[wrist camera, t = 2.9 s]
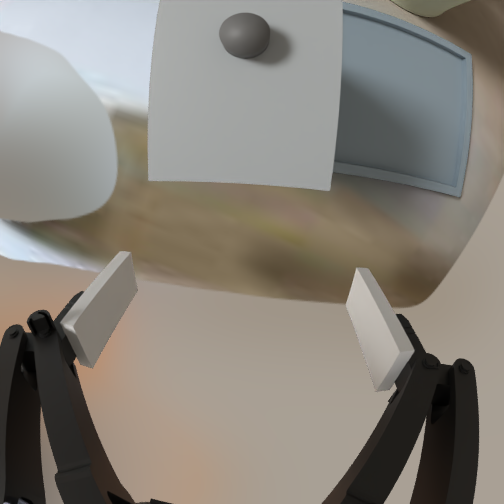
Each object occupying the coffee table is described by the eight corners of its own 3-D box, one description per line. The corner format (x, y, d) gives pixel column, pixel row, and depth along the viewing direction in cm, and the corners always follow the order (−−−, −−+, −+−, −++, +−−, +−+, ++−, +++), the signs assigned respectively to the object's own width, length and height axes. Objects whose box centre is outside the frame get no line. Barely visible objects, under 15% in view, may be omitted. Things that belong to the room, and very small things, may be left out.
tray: (322, 3, 14) (325, -3, 13) (464, 55, 14) (471, 54, 12) (312, 167, 20) (315, 170, 19) (453, 193, 20) (460, 197, 19)
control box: (214, 37, 16) (141, -69, 2) (306, 42, 16) (373, -64, 2) (206, 156, 20) (112, 220, 7) (297, 162, 20) (363, 236, 7)
